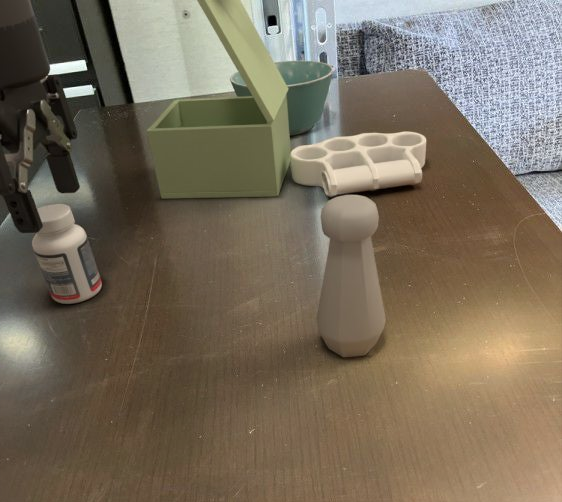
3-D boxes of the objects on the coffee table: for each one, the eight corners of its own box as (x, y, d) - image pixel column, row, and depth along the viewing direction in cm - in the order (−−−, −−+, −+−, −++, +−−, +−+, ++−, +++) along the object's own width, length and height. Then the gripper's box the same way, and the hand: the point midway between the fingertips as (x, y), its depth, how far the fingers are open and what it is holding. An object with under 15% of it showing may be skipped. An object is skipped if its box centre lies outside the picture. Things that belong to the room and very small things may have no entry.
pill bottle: (89, 273, 68) (64, 195, 62) (111, 290, 65) (87, 210, 59) (43, 292, 65) (13, 213, 60) (64, 311, 62) (34, 230, 57)
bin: (161, 198, 82) (146, 130, 76) (186, 162, 91) (174, 99, 86) (278, 196, 79) (271, 126, 74) (291, 159, 89) (286, 94, 83)
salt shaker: (306, 337, 55) (295, 198, 47) (360, 316, 57) (359, 179, 49) (340, 372, 51) (336, 227, 43) (398, 348, 53) (404, 204, 45)
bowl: (241, 115, 106) (234, 63, 101) (333, 108, 105) (332, 55, 100) (232, 148, 94) (224, 90, 89) (336, 141, 93) (334, 82, 88)
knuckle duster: (304, 207, 76) (285, 164, 87) (446, 186, 77) (410, 147, 88) (302, 180, 74) (283, 140, 85) (449, 159, 75) (411, 122, 86)
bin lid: (186, -18, 65) (228, -49, 63) (214, -35, 75) (251, -62, 73) (268, 123, 74) (307, 100, 71) (283, 92, 83) (319, 71, 81)
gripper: (-13, 5, 55) (47, 182, 65) (-114, 41, 44) (-23, 247, 55) (65, -2, 54) (114, 179, 64) (-19, 34, 43) (56, 245, 53)
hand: (51, 210), depth 59 cm, fingers open, 8 cm apart
